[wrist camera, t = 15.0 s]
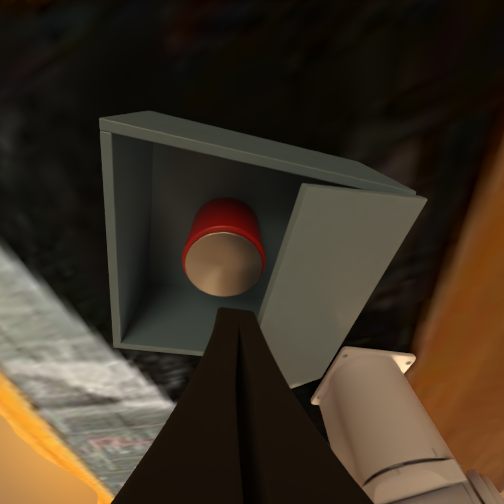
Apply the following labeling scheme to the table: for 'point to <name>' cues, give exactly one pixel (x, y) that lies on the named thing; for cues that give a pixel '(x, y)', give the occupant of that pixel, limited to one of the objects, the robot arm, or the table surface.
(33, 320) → the table surface
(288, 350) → the carton flap
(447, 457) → the robot arm
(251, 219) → the can
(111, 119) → the carton
